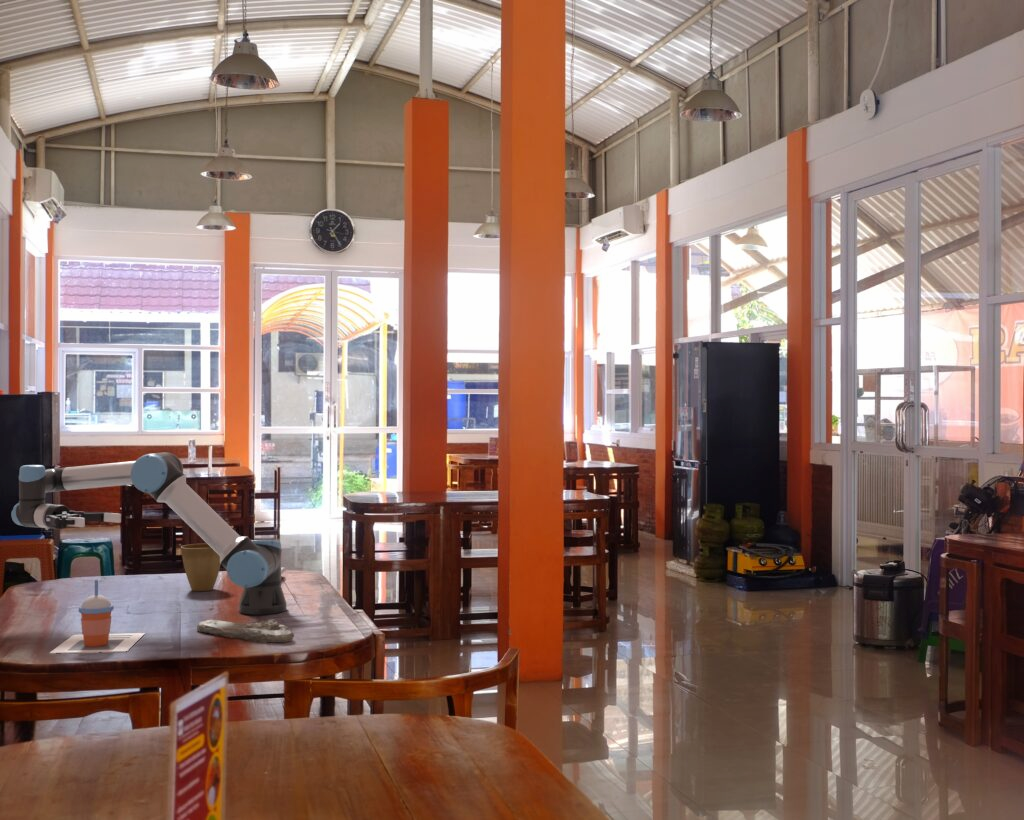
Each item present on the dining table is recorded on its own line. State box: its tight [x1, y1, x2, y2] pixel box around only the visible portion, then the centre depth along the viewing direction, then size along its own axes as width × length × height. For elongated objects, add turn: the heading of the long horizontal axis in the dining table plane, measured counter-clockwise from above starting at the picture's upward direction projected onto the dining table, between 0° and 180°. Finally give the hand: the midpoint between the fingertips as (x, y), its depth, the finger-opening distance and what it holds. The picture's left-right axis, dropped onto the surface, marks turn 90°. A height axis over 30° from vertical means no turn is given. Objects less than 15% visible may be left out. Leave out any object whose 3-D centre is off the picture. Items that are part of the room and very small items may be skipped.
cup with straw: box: [78, 579, 115, 647], centre depth 289 cm, size 9×9×18 cm
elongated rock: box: [196, 618, 295, 644], centre depth 303 cm, size 35×5×10 cm
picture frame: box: [49, 632, 146, 655], centre depth 292 cm, size 20×22×1 cm
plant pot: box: [180, 543, 222, 592], centre depth 377 cm, size 15×15×16 cm
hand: (102, 520), depth 315 cm, fingers open, 13 cm apart
